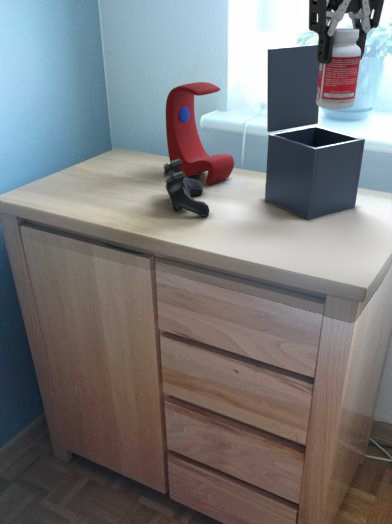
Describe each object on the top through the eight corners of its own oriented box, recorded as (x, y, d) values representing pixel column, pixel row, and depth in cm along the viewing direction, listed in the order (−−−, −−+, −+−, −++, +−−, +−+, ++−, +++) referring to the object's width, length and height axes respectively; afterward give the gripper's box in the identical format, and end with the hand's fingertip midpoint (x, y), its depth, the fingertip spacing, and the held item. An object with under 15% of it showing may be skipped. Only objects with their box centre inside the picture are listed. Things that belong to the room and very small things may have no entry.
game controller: (177, 204, 124) (154, 164, 118) (204, 188, 122) (182, 148, 117) (182, 232, 110) (156, 189, 105) (213, 215, 109) (188, 171, 104)
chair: (167, 174, 133) (163, 83, 122) (188, 167, 138) (186, 78, 126) (213, 187, 125) (214, 90, 114) (234, 179, 129) (236, 85, 118)
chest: (355, 207, 113) (365, 139, 106) (307, 219, 108) (315, 149, 100) (310, 189, 123) (316, 125, 115) (264, 200, 118) (268, 134, 110)
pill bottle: (361, 107, 91) (373, 30, 85) (330, 111, 89) (340, 32, 83) (338, 100, 96) (347, 26, 89) (308, 104, 93) (315, 28, 87)
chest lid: (321, 44, 108) (318, 44, 108) (270, 49, 102) (267, 49, 103) (318, 123, 115) (315, 123, 116) (269, 132, 110) (267, 131, 110)
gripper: (338, -73, 73) (322, 68, 83) (412, -71, 80) (389, 60, 89) (300, -71, 78) (289, 62, 88) (372, -69, 85) (355, 55, 94)
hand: (340, 61), depth 88 cm, fingers closed on pill bottle, 6 cm apart
